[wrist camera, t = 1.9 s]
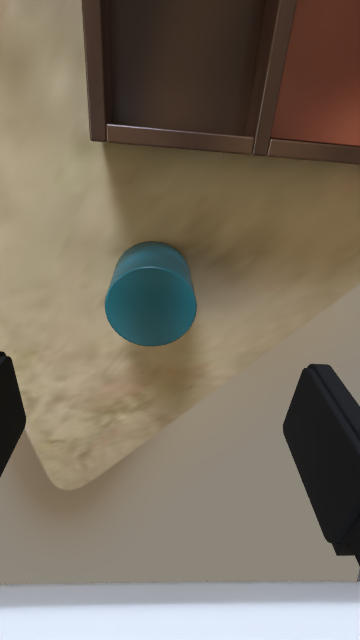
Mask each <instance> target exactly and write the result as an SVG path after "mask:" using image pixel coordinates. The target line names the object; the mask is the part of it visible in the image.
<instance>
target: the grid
mask: <svg viewBox="0 0 360 640" xmlns="http://www.w3.org/2000/svg"><path fill="white" fill-rule="evenodd" d="M82 14H83V30H84V47H85V63H86V79H87V95H88V111H89V127H90V139H91V141H97V142H109V143H120V144H131V145H143V146H154V147H166V148H177V149H188V150H200V151H211V152H222V153H234V154H245V155H256V156H268V157H279V158H291V159H302V160H313V161H325V162H336V163H347V164H359V165H360V0H82Z"/></svg>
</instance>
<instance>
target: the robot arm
mask: <svg viewBox="0 0 360 640" xmlns="http://www.w3.org/2000/svg"><path fill="white" fill-rule="evenodd" d="M25 424H26V415H25V411H24V407H23V403H22V399H21V395H20V391H19V387H18V383H17V379H16V375H15V371H14V367H13V363H12V359H11V358H10V357H9V356H6V354H5V353H4V352H2V351H0V477H1V474H2V473H3V471H4V468H5V466H6V464H7V462H8V460H9V458H10V456H11V454H12V452H13V450H14V448H15V446H16V444H17V442H18V440H19V438H20V436H21V434H22V432H23V430H24V428H25ZM283 432H284V436H285V439H286V441H287V443H288V446H289V448H290V451H291V454H292V456H293V459H294V461H295V464H296V466H297V468H298V471H299V474H300V476H301V479H302V482H303V484H304V487H305V489H306V492H307V494H308V497H309V499H310V502H311V504H312V507H313V509H314V512H315V514H316V517H317V519H318V522H319V525H320V527H321V530H322V532H323V534H324V537H325V539H326V540H327V541H328V542H329V543H332V545H333V547H334V550H335V552H336V555H337V556H339V555H341V556H342V555H343V556H345V555H346V556H347V555H355V557H356V559H357V561H358V563H359V566H360V406H359V405H358V404H357V402H356V401H355V399H354V398H353V397H352V395H351V394H350V392H349V391H348V390H347V388H346V387H345V386H344V384H343V383H342V382H341V380H340V379H339V377H338V376H337V374H336V373H335V372H334V370H333V369H332V367H331V366H329V365H324V364H310V365H309V366H308V367H307V368H304V369H303V371H302V373H301V376H300V379H299V381H298V385H297V387H296V390H295V393H294V395H293V398H292V401H291V404H290V407H289V410H288V412H287V415H286V418H285V421H284V424H283ZM0 640H360V570H359V575H358V579H357V581H213V582H212V581H210V582H209V581H206V582H124V583H123V582H119V583H117V582H115V583H55V584H54V583H52V584H50V583H49V584H0Z"/></svg>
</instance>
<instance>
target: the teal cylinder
mask: <svg viewBox="0 0 360 640" xmlns="http://www.w3.org/2000/svg"><path fill="white" fill-rule="evenodd" d="M196 309H197V304H196V298H195V293H194V288H193V283H192V279H191V274H190V270H189V266H188V264H187V262H186V260H185V258H184V257H183V256H182V255H181V254H180V253H179V252H178V251H177V250H176V249H175V248H173V247H171V246H169V245H167V244H164V243H160V242H143V243H139V244H137V245H134V246H132V247H131V248H129V249H128V250H127V251H125V252H124V254H123V255H122V256H121V257H120V259H119V260H118V262H117V265H116V268H115V271H114V274H113V277H112V280H111V283H110V286H109V289H108V292H107V295H106V299H105V312H106V316H107V319H108V321H109V323H110V325H111V326H112V328H113V329H114V330H115V331H116V332H117V333H118V334H119V335H120V336H121V337H123V338H124V339H126V340H128V341H130V342H132V343H135V344H138V345H142V346H161V345H165V344H168V343H171V342H173V341H175V340H177V339H179V338H180V337H181V336H183V335H184V334H185V333H186V332H187V331H188V329H189V328H190V327H191V325H192V323H193V321H194V319H195V316H196Z"/></svg>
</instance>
